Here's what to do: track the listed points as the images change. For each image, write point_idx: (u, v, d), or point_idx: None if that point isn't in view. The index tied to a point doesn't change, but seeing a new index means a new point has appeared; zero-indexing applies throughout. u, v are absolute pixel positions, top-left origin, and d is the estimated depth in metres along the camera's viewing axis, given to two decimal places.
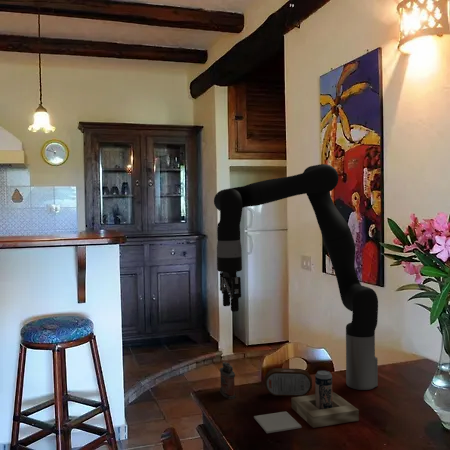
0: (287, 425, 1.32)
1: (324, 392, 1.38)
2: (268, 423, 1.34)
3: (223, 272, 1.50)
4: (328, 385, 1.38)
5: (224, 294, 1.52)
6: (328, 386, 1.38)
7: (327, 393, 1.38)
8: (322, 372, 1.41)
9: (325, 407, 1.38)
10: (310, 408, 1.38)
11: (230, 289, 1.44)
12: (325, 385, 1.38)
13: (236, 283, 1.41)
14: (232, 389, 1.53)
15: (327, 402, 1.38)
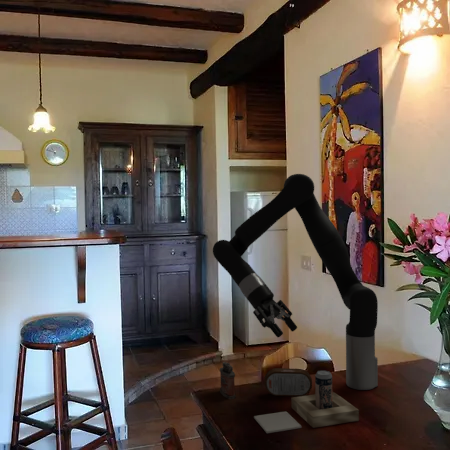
0: (287, 425, 1.32)
1: (324, 392, 1.38)
2: (268, 423, 1.34)
3: None
4: (328, 385, 1.38)
5: (285, 321, 1.52)
6: (328, 386, 1.38)
7: (327, 393, 1.38)
8: (322, 372, 1.41)
9: (325, 407, 1.38)
10: (310, 408, 1.38)
11: None
12: (325, 385, 1.38)
13: (258, 314, 1.45)
14: (232, 389, 1.53)
15: (327, 402, 1.38)
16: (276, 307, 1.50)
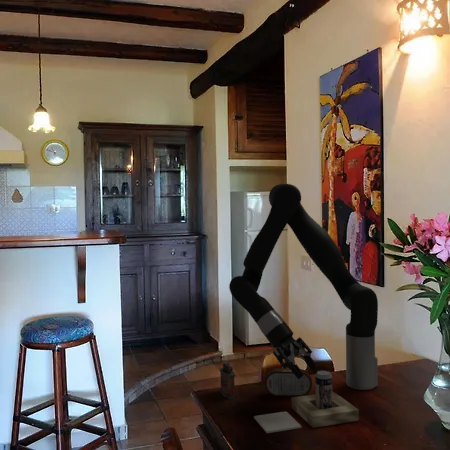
0: (287, 425, 1.32)
1: (324, 392, 1.38)
2: (268, 423, 1.34)
3: None
4: (328, 385, 1.38)
5: None
6: (328, 386, 1.38)
7: (327, 393, 1.38)
8: (322, 372, 1.41)
9: (325, 407, 1.38)
10: (310, 408, 1.38)
11: None
12: (325, 385, 1.38)
13: (278, 354, 1.41)
14: (232, 389, 1.53)
15: (327, 402, 1.38)
16: (296, 346, 1.47)
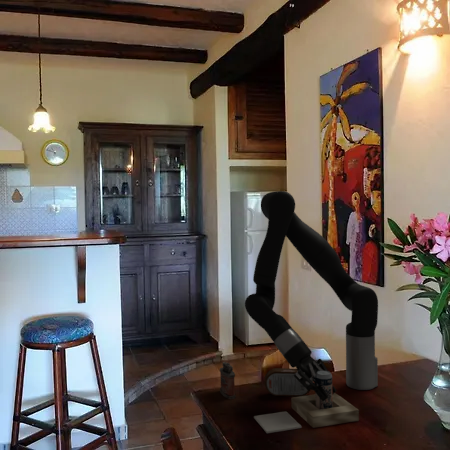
0: (287, 425, 1.32)
1: None
2: (268, 423, 1.34)
3: None
4: (328, 385, 1.38)
5: None
6: (328, 386, 1.38)
7: (327, 393, 1.38)
8: (322, 372, 1.41)
9: (325, 407, 1.38)
10: (310, 408, 1.38)
11: (307, 381, 1.40)
12: (325, 385, 1.38)
13: (300, 378, 1.38)
14: (232, 389, 1.53)
15: (327, 402, 1.38)
16: (314, 365, 1.43)
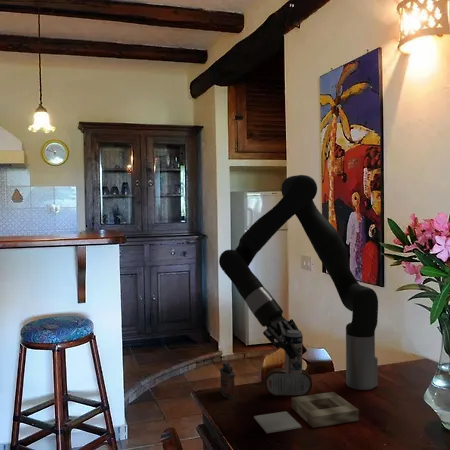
0: (287, 425, 1.32)
1: None
2: (268, 423, 1.34)
3: None
4: (298, 343, 1.35)
5: None
6: (298, 344, 1.35)
7: (296, 351, 1.35)
8: (292, 331, 1.37)
9: (294, 366, 1.35)
10: (310, 408, 1.38)
11: (277, 340, 1.36)
12: (295, 343, 1.34)
13: (269, 335, 1.34)
14: (232, 389, 1.53)
15: (296, 361, 1.35)
16: (285, 324, 1.39)
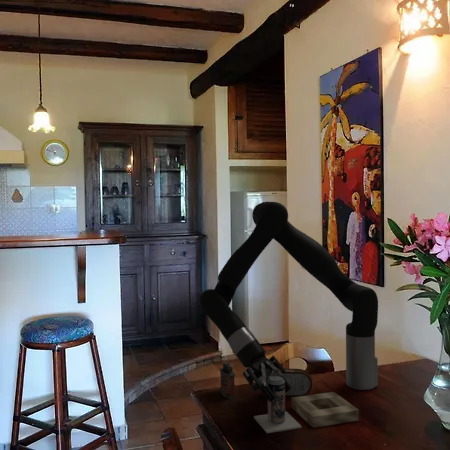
0: (287, 425, 1.32)
1: (275, 398, 1.33)
2: (268, 423, 1.34)
3: None
4: (280, 391, 1.33)
5: None
6: (280, 392, 1.33)
7: (279, 399, 1.33)
8: (275, 377, 1.35)
9: (277, 414, 1.33)
10: (310, 408, 1.38)
11: None
12: (277, 391, 1.33)
13: (248, 375, 1.32)
14: (232, 389, 1.53)
15: (279, 409, 1.33)
16: (268, 365, 1.38)
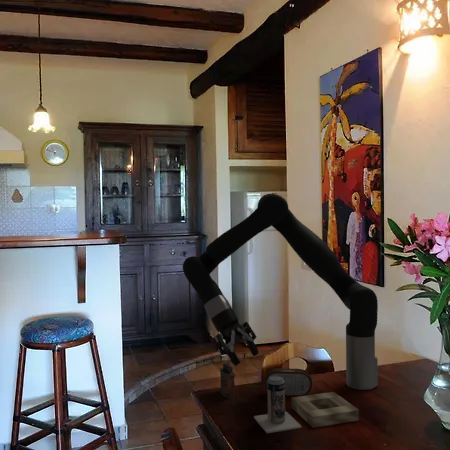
0: (287, 425, 1.32)
1: (275, 398, 1.33)
2: (268, 423, 1.34)
3: None
4: (280, 391, 1.33)
5: (248, 345, 1.52)
6: (280, 392, 1.33)
7: (279, 399, 1.33)
8: (274, 377, 1.36)
9: (277, 414, 1.33)
10: (310, 408, 1.38)
11: (226, 346, 1.47)
12: (277, 391, 1.33)
13: (217, 341, 1.45)
14: (232, 389, 1.53)
15: (279, 408, 1.33)
16: (239, 332, 1.50)
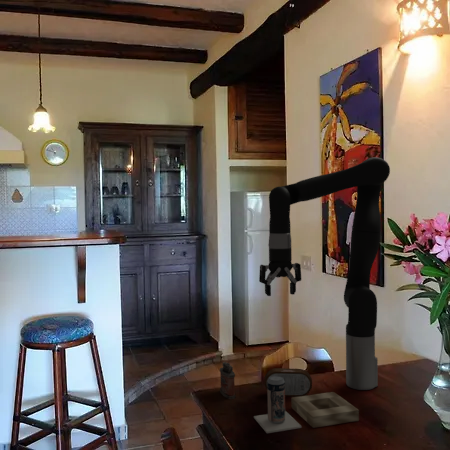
0: (287, 425, 1.32)
1: (275, 398, 1.33)
2: (268, 423, 1.34)
3: None
4: (280, 391, 1.33)
5: (290, 283, 1.65)
6: (280, 392, 1.33)
7: (279, 399, 1.33)
8: (274, 377, 1.36)
9: (277, 414, 1.33)
10: (310, 408, 1.38)
11: (268, 275, 1.63)
12: (277, 391, 1.33)
13: (261, 270, 1.62)
14: (232, 389, 1.53)
15: (279, 408, 1.33)
16: (285, 271, 1.62)
